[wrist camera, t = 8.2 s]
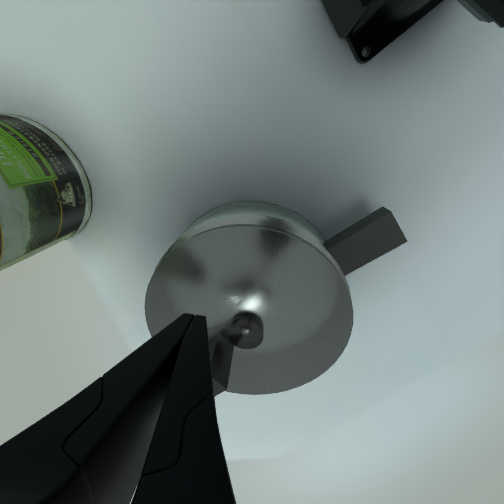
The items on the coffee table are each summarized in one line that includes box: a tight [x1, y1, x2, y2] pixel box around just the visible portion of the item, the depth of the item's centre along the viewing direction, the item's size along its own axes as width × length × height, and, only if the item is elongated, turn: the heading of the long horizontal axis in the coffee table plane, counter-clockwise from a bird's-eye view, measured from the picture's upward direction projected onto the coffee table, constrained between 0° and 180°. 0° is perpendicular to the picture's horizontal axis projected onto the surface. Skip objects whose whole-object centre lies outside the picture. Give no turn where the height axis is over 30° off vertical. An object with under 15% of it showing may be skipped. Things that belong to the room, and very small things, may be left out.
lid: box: [145, 224, 353, 397], centre depth 17 cm, size 19×15×5 cm
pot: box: [154, 201, 407, 297], centre depth 21 cm, size 24×15×5 cm, turn 127°
